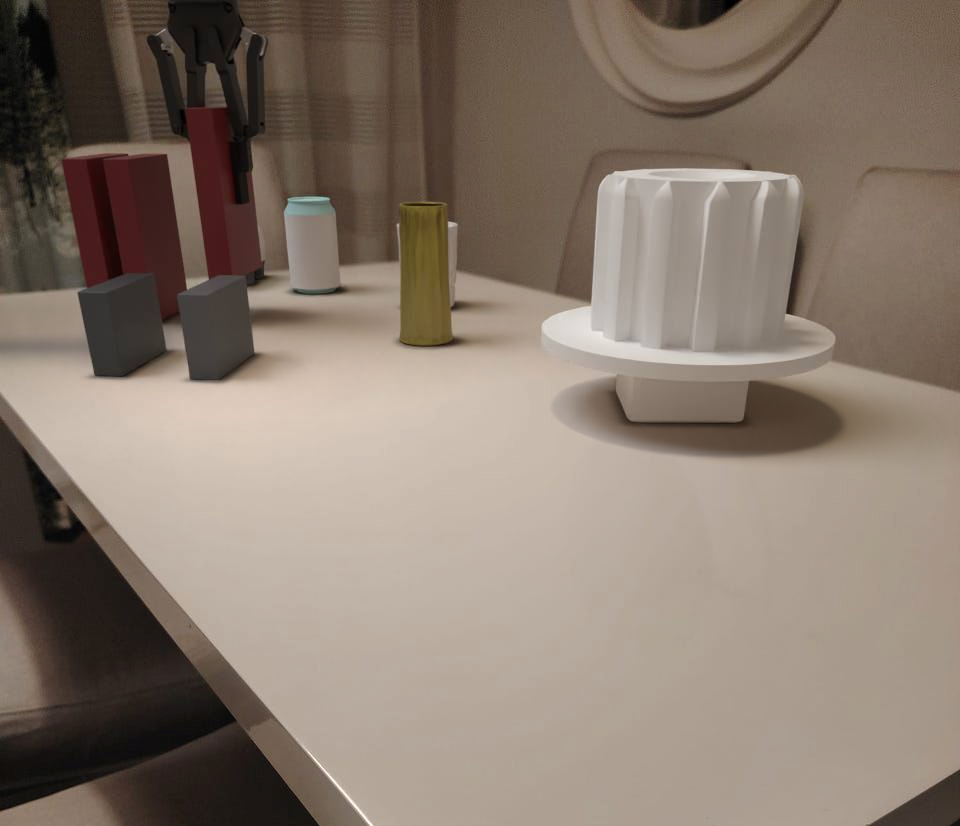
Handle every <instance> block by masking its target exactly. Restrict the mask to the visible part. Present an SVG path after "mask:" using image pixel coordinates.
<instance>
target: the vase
mask: <svg viewBox="0 0 960 826" xmlns="http://www.w3.org/2000/svg"><path fill="white" fill-rule="evenodd" d="M398 219H399V235H400V263H399V270H400V271H399V272H400V287H399V288H400V292H399V293H400V294H399V295H400V297H399V300H400V301H399V302H400V312H399V313H400V314H399V315H400V316H399V317H400V320H399V321H400V324H399V325H400V328H399V329H400V331H399V340H400V341H401V342H402V343H404V344H406V345H411V346H419V347H429V346H440V345H445V344H448V343H450V342H452V341H453V340H454V337H453V336H454V335H453V329H452V309H451V308H452V307H451V306H450V291H449V260H448V222H449V213H448V204H447V202H442V201H441V202H440V201H406V202H400V203H399V204H398Z"/></svg>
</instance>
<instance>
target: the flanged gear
mask: <svg viewBox="0 0 960 826" xmlns="http://www.w3.org/2000/svg"><path fill="white" fill-rule="evenodd" d="M804 200H805V191H804V187H803V184H802V182H801V180H800V179H799V178H798V176H797V175H796V174H786V173H781V172H773V171H770V170H769V171H767V170H765V171H763V170H750V169H733V168H727V169H726V168H686V167H683V168H642V169H629V170H622V171H621V170H620V171H619V170H615V171H613V172H612V173H611V174H607V175H606V176H605V177H604V178H603V179H602V180H601V182H600V183H599V186H598V190H597V199H596V216H595V217H596V218H595V232H594V233H595V235H594V250H593V251H594V252H593V267H592V283H591V285H592V287H591V303H590V305H587V306H581V307H578V308H577V307H576V308H572V309H568V310H565V311H561V312H558V313H556V314H553V315H551V316H549V317H548V318H546V319H545V320H544V321H543V322H542V324H541V333H540V336H541V337H540V343H541V347H542V348H543V349H544V350H545V351H546V352H547V353H549V354H550V355H552V356H554V357H556V358H557V359H560V360H562V361H564V362H566V363H570V364H573V365H575V366H580V367H583V368H586V369H590V370H591V369H592V370H595V371H600V372H604V373H608V374H615V375H616V381H615V382H616V383H615V392H616V395H617V397H618V399H619V402H620V404H621V407H622V409H623V411H624V414H625V417H626V418H627V420H628V421H630V422H631V423H681V424H683V423H685V424H686V423H687V424H688V423H689V424H690V423H695V424H696V423H698V424H699V423H705V424H708V423H709V424H710V423H715V424H719V423H721V424H722V423H723V424H728V423H731V424H734V423H740V422H742V421H743V420H744V418H745V411H746V403H747V396H748V391H749V390H748V389H749V385H750V384H749V383H750V382H751V381H761V380H762V381H763V380H771V379H778V378H786V377H793V376H796V375H801V374H805V373H809V372H812V371H814V370H817V369H820V368H822V367H823V366H826V365H827V364H829V362H830V361H831V360H832V359H833V356H834V349H835V346H836V336H835V334H834V333H833V332H832V330H830V329H828V328H827V327H825V326H824V325H822V324H820V323H817V322H815V321H812V320H809V319H807V318H803V317H800V316H796V315H794V314H793V315H792V314H788V313H787V308H788V301H789V295H790V289H791V282H792V275H793V271H794V265H795V257H796V251H797V244H798V238H799V233H800V228H801V227H800V226H801V219H802V213H803V206H804Z"/></svg>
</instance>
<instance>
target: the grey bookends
mask: <svg viewBox="0 0 960 826" xmlns="http://www.w3.org/2000/svg"><path fill="white" fill-rule="evenodd" d="M248 295H249V293H248V285H247V284H246V276H234V275H218V276H216V277H214V278H211V279H209V278H208V279H207V280H205V281H203V282H201V283H198V284H196V285H194V286H192V287H190V288H187V290H186V291H184V292H181V293H179V294H177V298H178V304H179V317H180V324H181V329H182V337H183V342H184V348H185V349H184V351H185V356H186V362H187V369H188V375H189V379H190V380H212V381H213V380H215V381H217V380H218V381H219V380H221V379H222V378H223V377H224V376H226V375H227V374H228V373H230V372H231V371H233V370H234V369H235V368H237V367H238V366H239V365H241V364H242V363H243V362H245V361H246V360H247V359H249V358H250V357H251V356H253V355H254V354H255V353H256V352H255V344H254V336H253V327H252V319H251V310H250V301H249V296H248ZM77 296H78V303H79V309H80V312H81V317H82V322H83V326H84V331H85V336H86V342H87V347H88V351H89V356H90V361H91V365H92V366H91V367H92V370H93V371H92V372H93V375H94V376H99V377H100V376H101V377H107V376H108V377H124V376H126V375H127V374H129V373H130V372H132V371H134V370H135V369H138V368H140V367H141V366H143V365H144V364H146V363H148V362H149V361H151V360H153V359H154V358H156V357H158V356H160V355H161V354H163V353H165V352H167V343H166V337H165V331H164V325H163V320H162V319H161V312H160V306H159V300H158V294H157V288H156V282H155V276H154V274H146V273H127V274H124V275H121V276H119V277H116V278H113V279H111V280H108V281H105V282H103V283H100V284H97V285H95V286H92V287H89V288H87V287H86V288H84V289H82V290H78V291H77Z"/></svg>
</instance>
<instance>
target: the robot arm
mask: <svg viewBox="0 0 960 826" xmlns="http://www.w3.org/2000/svg"><path fill="white" fill-rule="evenodd" d="M166 2H167V7H168V17H167V20H166V28H164V29H162V30H161V31H159V32H158V33H156V34H149V35H148V36H147V37H146V42H147V46H148V47H149V49H150V51H151V53H152V54H153V57H154V59H155V60H156V61H155V62H156V65H157V69H158V74H159V80H160V82H161V88H162V92H163V97H164V101H165V107H166V111H167V116H168V120H169V125H170V130H171V131H172V133H173V135H176V136H180V137H182V138H185V139H186V140H187V141H188V143H190V140H189V133H188V126H187V119H186V112H185V108H196V107H206V75H207V72H208V71H207V70H208V65H209V64H212V65H213V64H214V67H215V71H216V73H217V74H218V76H219V81H220V85H221V89H222V93H223V96H224V101H225V104H226V105H225V106H226V107H227V109H228V113H229V117H230V121H231V125H232V129H233V133H234V137H232V138H233V140H234V141H236V142H229V150H230V158H231V166H232V175H233V183H234V191H235V200H236V205H242V204H246V203H249V202H250V201H249V192H248V183H247V175H246V172H252V173H253V171H254V170H253V169H254V161H253V153H252V140H253V139H254V138H256V137H258V136H260V135H263V134H265V133H266V101H265V99H266V97H265V67H264V66H265V64H264V63H265V62H264V61H265V56H266V52H267V50H268V46H269V40H268V37H267V36H266V35H264V34H260V33H259V34H258V33H256V32H254V31H252V30H251V29H249V28H247V27H246V25H245V23H244V20H243V18H242V16H241V14H240V10H239V0H166ZM242 41H243V50H244V51H245V52H246V58H245V60H246V61H245V69H246V70H245V71H246V92H247V93H246V94H247V96H246V97H247V99H246V100H247V111H246V107H245V103H244V100H243V95H242V91H241V87H240V82H239V78H238V74H237V73H238V67H237V64H236V63H237V62H236V59H235V54H236V52H237V49H238V47H239V46H240V44H241V42H242ZM174 42H175V43H176V45H177V46H178V47H179V49H180V50H181V52H182V53H183V55H184V71H185V73H186V105H185V100H184V96H183V91H182V87H181V82H180V77H179V72H178V68H177V67H178V66H177V63H176V59H175V57H174V54H173V53H174V51H175V46H174Z"/></svg>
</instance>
